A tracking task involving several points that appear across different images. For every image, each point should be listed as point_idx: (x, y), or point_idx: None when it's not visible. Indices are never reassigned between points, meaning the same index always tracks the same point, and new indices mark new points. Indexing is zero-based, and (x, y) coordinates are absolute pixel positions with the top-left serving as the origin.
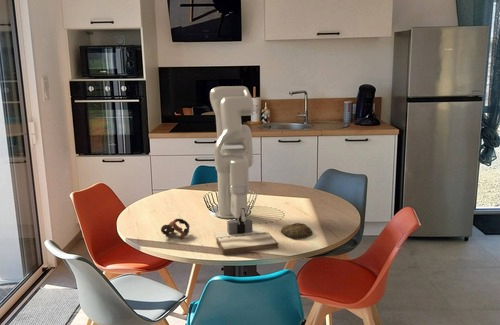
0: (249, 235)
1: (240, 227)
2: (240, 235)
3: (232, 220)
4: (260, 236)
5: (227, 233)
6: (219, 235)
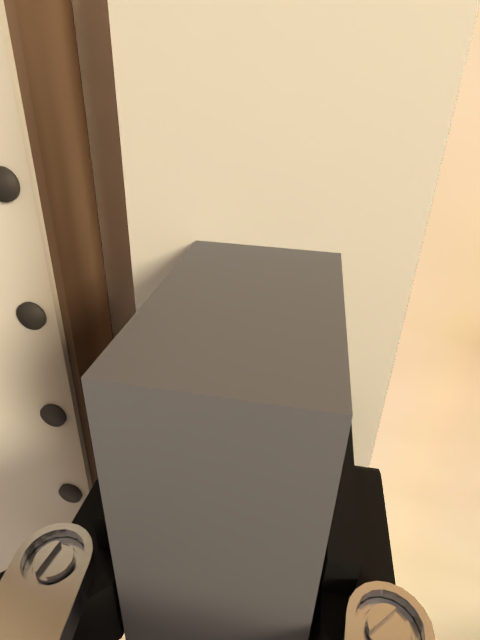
0: (53, 476)
1: (92, 499)
2: (66, 385)
3: (318, 549)
4: (7, 545)
5: (278, 234)
6: (224, 15)
